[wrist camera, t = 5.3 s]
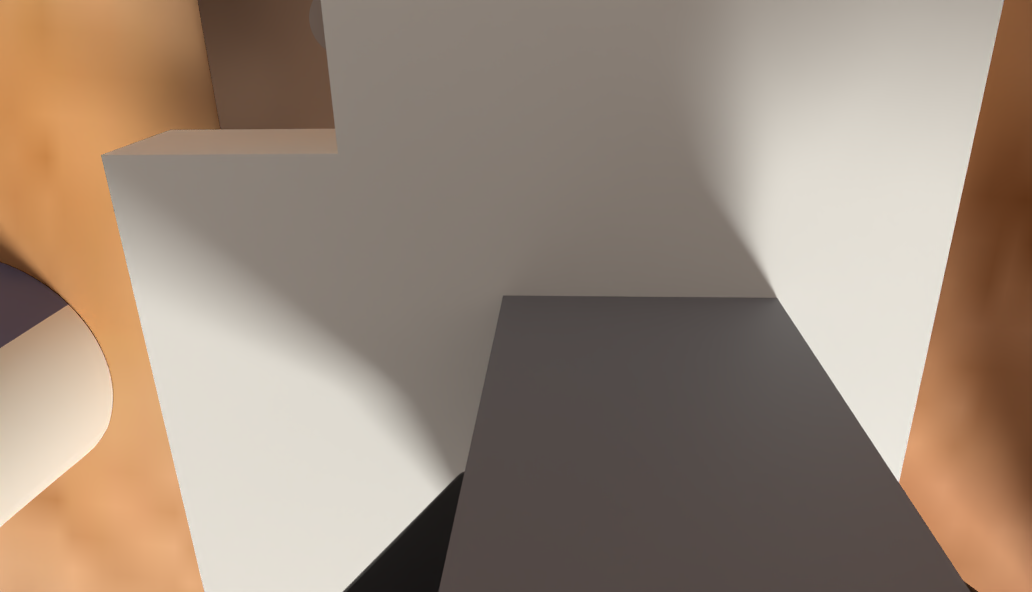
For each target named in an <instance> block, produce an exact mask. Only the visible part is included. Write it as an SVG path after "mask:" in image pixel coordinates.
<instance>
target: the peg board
mask: <svg viewBox="0 0 1032 592" xmlns="http://www.w3.org/2000/svg"><path fill="white" fill-rule="evenodd" d="M198 5H199V11H200V17H201V22H202V28H203V33H204V39H205V45H206V50H207V56H208V62H209V67H210V73H211V78H212V84H213V90H214V95H215V101H216V107H217V112H218V118H219V123H220V129H335V123H334V114H333V105H332V96H331V88H330V79H329V70H328V61H327V52H326V43H325V34H324V25H323V17H322V8H321V0H198Z"/></svg>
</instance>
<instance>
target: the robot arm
mask: <svg viewBox="0 0 1032 592" xmlns="http://www.w3.org/2000/svg"><path fill="white" fill-rule="evenodd" d="M464 472H465V471H464ZM464 472H462V473H460V474H459V475H457V476H456V478H455V479H454V480H453V481H452V482H451V483H450V484H449V485H448V486H447V487H446V488H445V489H444V490H443V491H442V492H441V493H440V494H439V495H438V496H437V497H436V498H435V499H434V500H433V501H432V502H431V503H430V504H429V505H428V506H427V507H426V508H425V509H424V510H423V511H422V512H421V513H420V514H419V515H418V516H417V517H416V518H415V519H414V520H413V521H412V522H411V523H410V524H409V525H408V526H407V527H406V528H405V529H404V530H403V531H402V532H401V533H400V534H399V535H398V536H397V537H396V538H395V539H394V540H393V541H392V542H391V543H390V544H389V545H388V546H387V547H386V548H385V549H384V550H383V551H382V552H381V553H380V554H379V555H378V556H377V557H376V558H375V559H374V560H373V561H372V562H371V563H370V564H369V565H368V566H367V567H366V568H365V569H364V570H363V571H362V572H361V573H360V574H359V575H358V576H357V577H356V578H355V579H354V580H353V581H352V583H351V584H350V585H349V586H348V587H347V588H346V589H345V590H344V591H343V592H439V587H440V583H441V578H442V573H443V569H444V564H445V560H446V555H447V550H448V546H449V541H450V537H451V532H452V527H453V523H454V518H455V514H456V509H457V505H458V500H459V495H460V491H461V486H462V482H463V477H464ZM964 583H965V584H966V586H967V587H968V589H969V590H970V592H978V591H977V590H975V589H974V588H972V587H971V586H970V585H968V584H967V583H966V582H964Z"/></svg>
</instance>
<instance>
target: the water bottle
mask: <svg viewBox="0 0 1032 592" xmlns="http://www.w3.org/2000/svg"><path fill="white" fill-rule="evenodd" d="M112 405H113V389H112V382H111V376H110V372H109V368H108V365H107V362H106V360H105V357H104V355H103V352H102V350H101V348H100V346H99V344H98V342H97V341H96V339H95V337H94V336H93V334H92V332H91V331H90V329H89V328H88V327H87V325H86V324H85V323H84V321H83V320H82V319H81V318H80V316H79V315H78V314H77V313H76V312H75V311H74V310H73V309H72V308H71V307H70V306H69V305H68V304H67V303H66V302H65V301H64V300H63V299H62V298H61V297H60V296H59V295H57V294H56V293H55V292H54V291H52V290H51V289H50V288H48V287H47V286H46V285H44V284H43V283H41V282H40V281H38V280H37V279H35V278H33V277H31V276H30V275H28V274H26V273H24V272H22V271H20V270H18V269H16V268H14V267H11V266H9V265H6V264H4V263H1V262H0V527H1V526H2V525H3V524H4V523H5V522H7V521H8V520H9V519H10V518H11V517H12V516H14V515H15V514H16V513H17V512H18V511H19V510H21V509H22V508H23V507H24V506H25V505H26V504H28V503H29V502H30V501H31V500H32V499H34V498H35V497H36V496H37V495H38V494H40V493H41V492H42V491H43V490H44V489H45V488H47V487H48V486H49V485H50V484H51V483H53V482H54V481H55V480H56V479H57V478H59V477H60V476H61V475H62V474H63V473H65V472H66V471H67V470H68V469H69V468H71V467H72V466H73V465H74V464H75V463H77V462H78V461H79V460H80V459H82V458H83V457H84V456H85V455H86V454H87V453H89V452H90V451H91V450H92V449H93V448H94V447H95V446H96V445H97V443H98V442H99V441H100V439H101V438H102V436H103V435H104V433H105V431H106V430H107V428H108V425H109V421H110V417H111V413H112Z"/></svg>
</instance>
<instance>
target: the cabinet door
mask: <svg viewBox="0 0 1032 592" xmlns="http://www.w3.org/2000/svg"><path fill="white" fill-rule="evenodd" d="M1003 2H1004V0H321V8H322V17H323V25H324V34H325V43H326V52H327V61H328V70H329V79H330V88H331V96H332V105H333V114H334V123H335V129H220V130H169V131H166V132H163V133H160V134H158V135H155V136H152V137H149V138H147V139H144V140H141V141H138V142H136V143H133V144H130V145H127V146H125V147H122V148H119V149H116V150H114V151H111V152H108V153H105V154H103V155H101V157H102V161H103V165H104V170H105V174H106V178H107V182H108V186H109V191H110V195H111V199H112V203H113V208H114V212H115V216H116V220H117V224H118V229H119V233H120V237H121V241H122V246H123V250H124V254H125V258H126V263H127V267H128V271H129V275H130V279H131V284H132V288H133V292H134V296H135V301H136V305H137V309H138V313H139V317H140V322H141V326H142V330H143V334H144V339H145V343H146V347H147V351H148V355H149V360H150V364H151V368H152V372H153V377H154V381H155V385H156V389H157V393H158V398H159V402H160V406H161V410H162V415H163V419H164V423H165V427H166V431H167V436H168V440H169V444H170V448H171V453H172V457H173V461H174V465H175V470H176V474H177V478H178V482H179V486H180V491H181V495H182V499H183V503H184V508H185V512H186V516H187V520H188V524H189V529H190V533H191V537H192V541H193V546H194V550H195V554H196V558H197V562H198V567H199V571H200V575H201V579H202V584H203V588H204V592H343V591H344V590H345V589H346V588H347V587H348V586H349V585H350V584H351V583H352V581H353V580H354V579H355V578H356V577H357V576H358V575H359V574H360V573H361V572H362V571H363V570H364V569H365V568H366V567H367V566H368V565H369V564H370V563H371V562H372V561H373V560H374V559H375V558H376V557H377V556H378V555H379V554H380V553H381V552H382V551H383V550H384V549H385V548H386V547H387V546H388V545H389V544H390V543H391V542H392V541H393V540H394V539H395V538H396V537H397V536H398V535H399V534H400V533H401V532H402V531H403V530H404V529H405V528H406V527H407V526H408V525H409V524H410V523H411V522H412V521H413V520H414V519H415V518H416V517H417V516H418V515H419V514H420V513H421V512H422V511H423V510H424V509H425V508H426V507H427V506H428V505H429V504H430V503H431V502H432V501H433V500H434V499H435V498H436V497H437V496H438V495H439V494H440V493H441V492H442V491H443V490H444V489H445V488H446V487H447V486H448V485H449V484H450V483H451V482H452V481H453V480H454V479H455V478H456V476H457V475H459V474H460V473H462V472H464V471H465V472H464V477H463V482H462V486H461V491H460V495H459V500H458V505H457V509H456V514H455V518H454V523H453V527H452V532H451V537H450V541H449V546H448V550H447V555H446V560H445V564H444V569H443V573H442V578H441V583H440V587H439V592H970V590H969V589H968V587H967V586H966V584H965V583H964V581H963V580H962V578H961V577H960V575H959V574H958V572H957V571H956V569H955V568H954V566H953V565H952V563H951V561H950V560H949V558H948V557H947V555H946V554H945V552H944V551H943V549H942V548H941V546H940V545H939V543H938V542H937V540H936V539H935V537H934V536H933V534H932V533H931V531H930V530H929V528H928V526H927V525H926V523H925V522H924V520H923V519H922V517H921V516H920V514H919V513H918V511H917V510H916V508H915V507H914V505H913V504H912V502H911V501H910V499H909V498H908V496H907V495H906V493H905V492H904V490H903V488H902V487H901V485H900V484H899V480H900V475H901V470H902V466H903V461H904V457H905V452H906V447H907V443H908V438H909V434H910V429H911V424H912V420H913V415H914V411H915V406H916V402H917V397H918V392H919V388H920V383H921V379H922V374H923V369H924V365H925V360H926V356H927V351H928V346H929V342H930V337H931V333H932V328H933V324H934V319H935V314H936V310H937V305H938V301H939V296H940V291H941V287H942V282H943V278H944V273H945V269H946V264H947V259H948V255H949V250H950V246H951V241H952V236H953V232H954V227H955V223H956V218H957V213H958V209H959V204H960V200H961V195H962V191H963V186H964V181H965V177H966V172H967V168H968V163H969V158H970V154H971V149H972V145H973V140H974V136H975V131H976V126H977V122H978V117H979V113H980V108H981V103H982V99H983V94H984V90H985V85H986V80H987V76H988V71H989V67H990V62H991V58H992V53H993V48H994V44H995V39H996V35H997V30H998V25H999V21H1000V16H1001V12H1002V7H1003Z"/></svg>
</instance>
